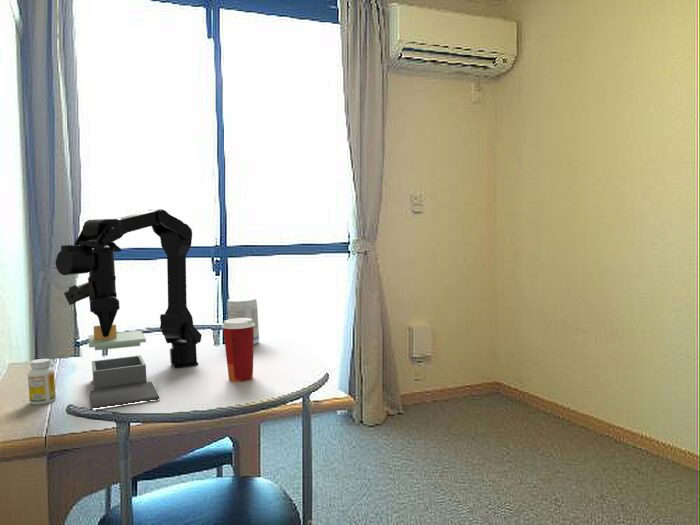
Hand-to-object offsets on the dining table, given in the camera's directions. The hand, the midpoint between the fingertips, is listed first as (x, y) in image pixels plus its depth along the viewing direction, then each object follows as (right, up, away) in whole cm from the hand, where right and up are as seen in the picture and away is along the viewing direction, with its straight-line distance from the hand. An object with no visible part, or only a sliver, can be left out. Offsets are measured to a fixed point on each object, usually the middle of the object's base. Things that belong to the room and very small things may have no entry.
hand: (105, 335), depth 144 cm
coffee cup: (+31, -12, +8) cm, 34 cm away
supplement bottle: (-12, -15, -7) cm, 20 cm away
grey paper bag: (+25, -9, +50) cm, 56 cm away
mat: (+7, -14, -6) cm, 16 cm away
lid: (+2, -1, +1) cm, 3 cm away
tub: (0, -13, +7) cm, 15 cm away
